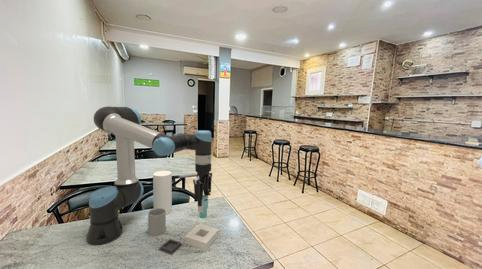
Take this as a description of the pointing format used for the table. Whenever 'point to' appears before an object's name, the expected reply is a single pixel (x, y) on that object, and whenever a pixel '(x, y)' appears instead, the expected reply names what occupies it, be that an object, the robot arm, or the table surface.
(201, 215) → the plug
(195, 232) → the port
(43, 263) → the table surface
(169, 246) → the grey square socket
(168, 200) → the tall pillar cylinder
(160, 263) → the table surface
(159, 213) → the mug
